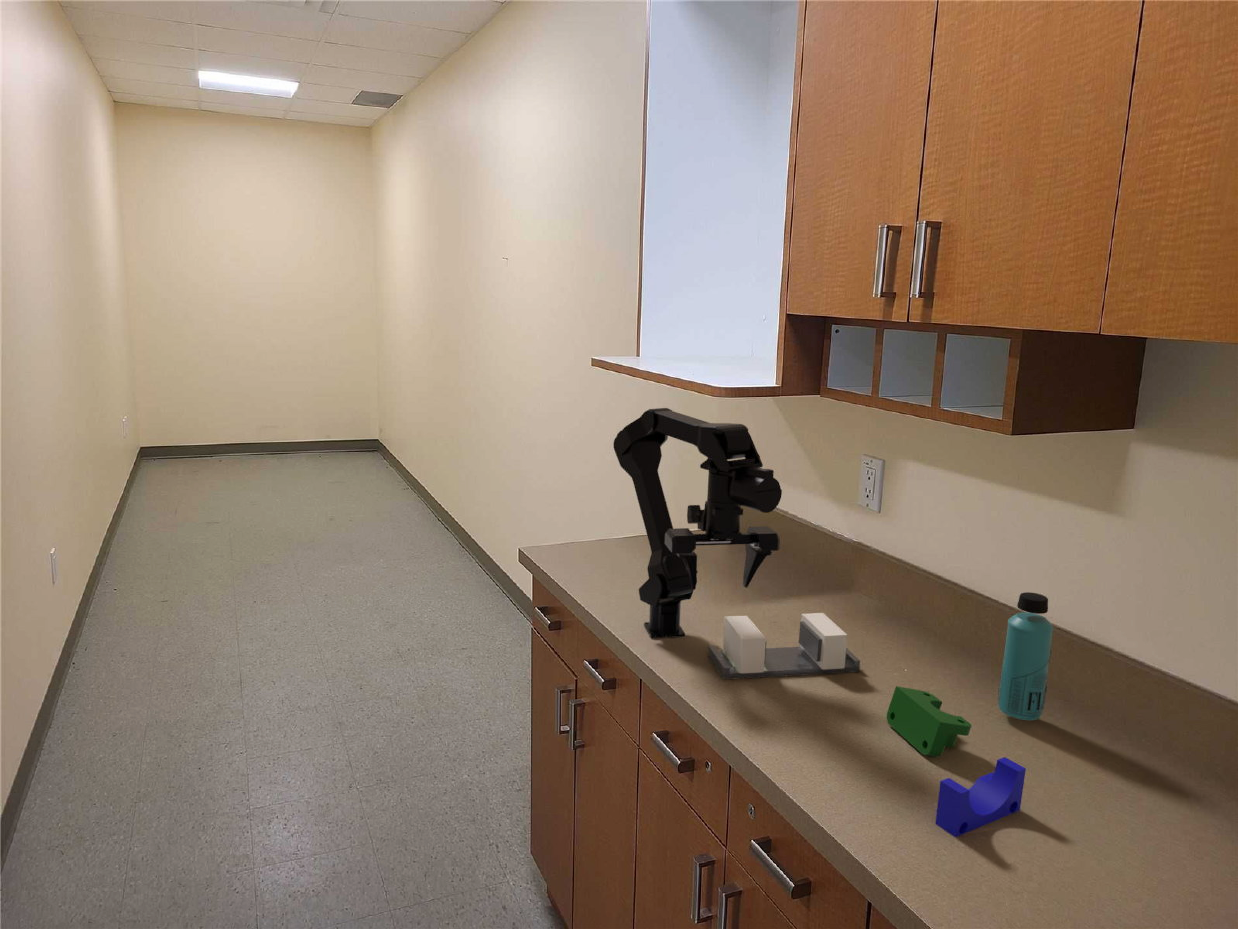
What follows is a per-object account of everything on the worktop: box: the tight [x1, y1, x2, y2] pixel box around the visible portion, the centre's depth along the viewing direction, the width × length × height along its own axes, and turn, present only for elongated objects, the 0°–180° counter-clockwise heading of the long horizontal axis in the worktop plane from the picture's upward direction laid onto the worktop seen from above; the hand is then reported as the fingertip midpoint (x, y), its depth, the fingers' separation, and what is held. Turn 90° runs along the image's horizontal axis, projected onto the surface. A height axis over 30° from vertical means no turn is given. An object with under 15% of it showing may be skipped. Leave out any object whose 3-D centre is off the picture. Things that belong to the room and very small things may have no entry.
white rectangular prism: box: [722, 615, 767, 673], centre depth 150 cm, size 4×10×6 cm, turn 10°
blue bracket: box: [935, 756, 1027, 838], centre depth 110 cm, size 12×4×6 cm, turn 120°
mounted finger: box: [798, 612, 848, 670], centre depth 152 cm, size 10×5×6 cm, turn 11°
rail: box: [707, 645, 861, 680], centre depth 152 cm, size 9×24×2 cm, turn 101°
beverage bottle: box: [996, 591, 1054, 721], centre depth 133 cm, size 6×7×20 cm
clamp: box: [886, 685, 972, 758], centre depth 128 cm, size 12×6×9 cm, turn 8°
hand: (719, 587), depth 151 cm, fingers open, 9 cm apart
